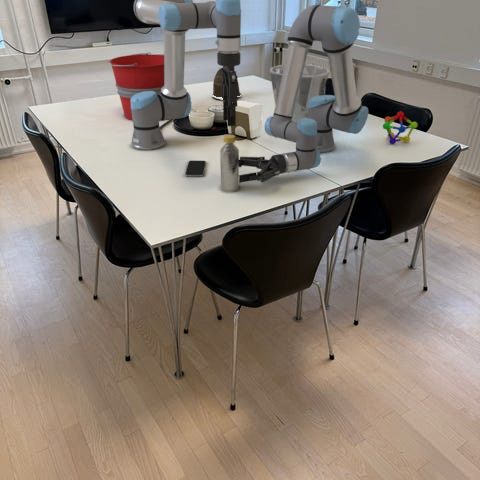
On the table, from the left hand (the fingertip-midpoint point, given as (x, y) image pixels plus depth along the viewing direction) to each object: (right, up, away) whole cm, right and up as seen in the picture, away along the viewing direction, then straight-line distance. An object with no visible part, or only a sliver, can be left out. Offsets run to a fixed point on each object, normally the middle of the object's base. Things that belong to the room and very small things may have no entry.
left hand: (229, 122), depth 154 cm
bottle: (0, -21, +13) cm, 25 cm away
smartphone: (-14, -12, +28) cm, 34 cm away
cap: (0, -4, +3) cm, 5 cm away
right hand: (+1, -16, +9) cm, 18 cm away
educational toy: (+78, +5, +56) cm, 96 cm away
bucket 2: (+33, +20, +79) cm, 88 cm away
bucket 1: (-49, +29, +94) cm, 110 cm away
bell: (-5, +50, +127) cm, 137 cm away
